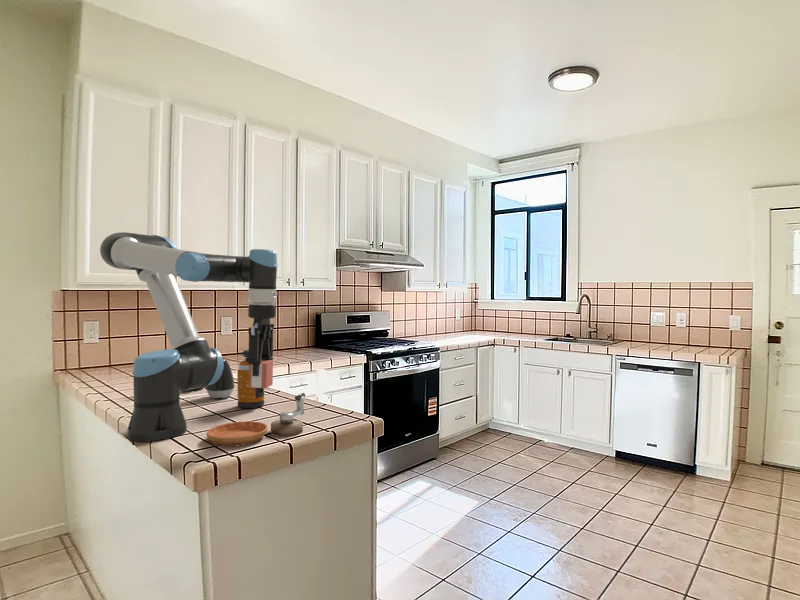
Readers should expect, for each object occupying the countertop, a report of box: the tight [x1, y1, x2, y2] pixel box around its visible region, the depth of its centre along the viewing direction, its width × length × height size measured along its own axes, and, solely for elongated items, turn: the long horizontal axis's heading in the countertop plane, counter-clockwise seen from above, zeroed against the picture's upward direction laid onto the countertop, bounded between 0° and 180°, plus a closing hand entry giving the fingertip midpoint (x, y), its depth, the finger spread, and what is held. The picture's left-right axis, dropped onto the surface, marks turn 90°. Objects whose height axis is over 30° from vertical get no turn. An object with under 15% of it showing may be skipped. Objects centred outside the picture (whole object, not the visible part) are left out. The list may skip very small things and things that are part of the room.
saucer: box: [206, 420, 269, 447], centre depth 131 cm, size 16×16×3 cm
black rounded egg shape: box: [205, 357, 235, 400], centre depth 181 cm, size 10×10×15 cm
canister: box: [236, 349, 265, 409], centre depth 166 cm, size 9×11×20 cm
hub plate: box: [270, 418, 304, 437], centre depth 137 cm, size 9×9×3 cm
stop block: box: [249, 360, 274, 389], centre depth 135 cm, size 5×5×7 cm
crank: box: [279, 392, 306, 424], centre depth 141 cm, size 12×4×6 cm, turn 163°
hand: (260, 384), depth 136 cm, fingers closed on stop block, 5 cm apart
